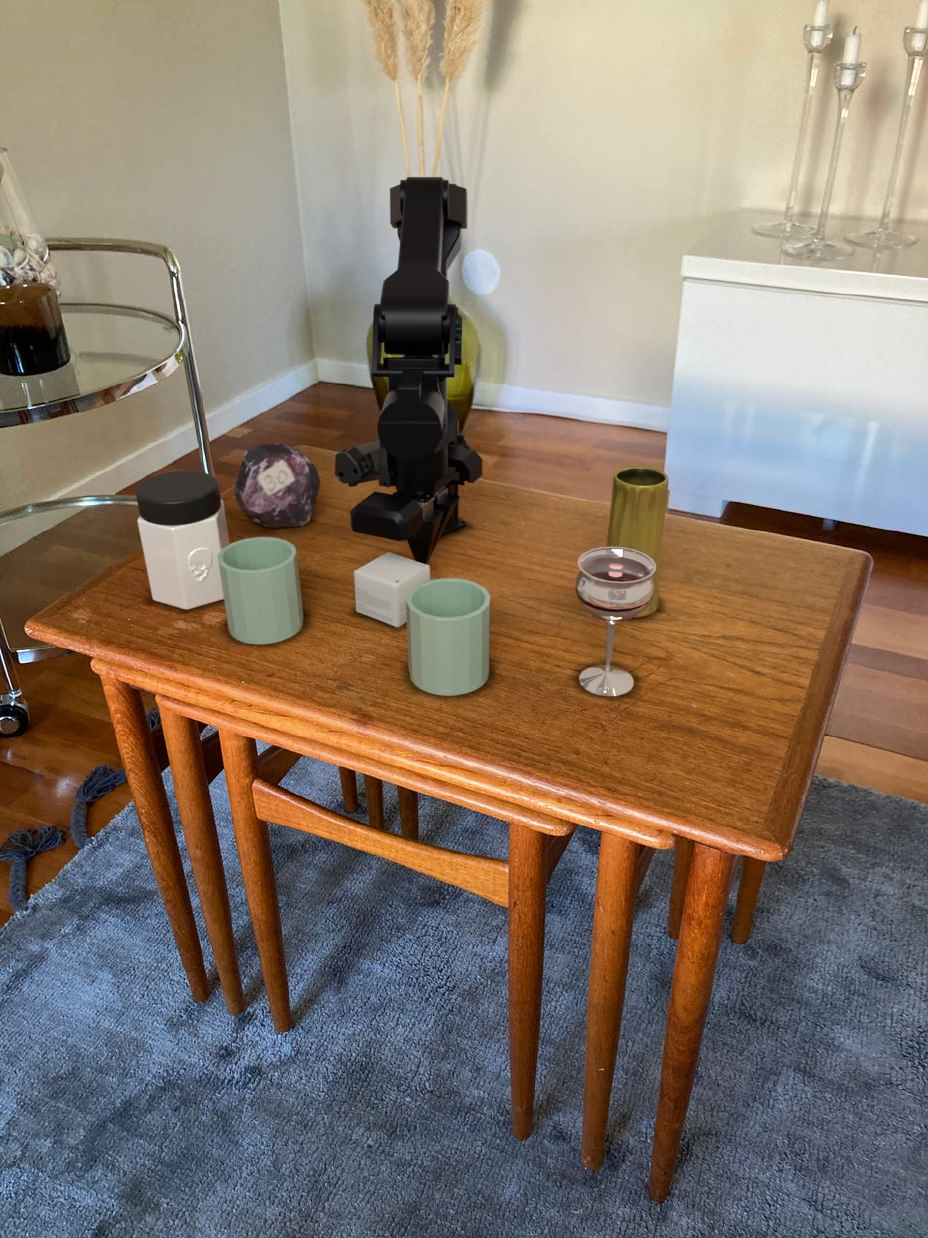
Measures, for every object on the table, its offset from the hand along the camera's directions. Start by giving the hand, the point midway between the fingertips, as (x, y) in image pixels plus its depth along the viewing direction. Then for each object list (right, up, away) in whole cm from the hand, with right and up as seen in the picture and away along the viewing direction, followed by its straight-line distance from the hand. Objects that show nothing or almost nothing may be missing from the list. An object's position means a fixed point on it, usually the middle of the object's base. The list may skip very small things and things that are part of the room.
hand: (422, 563), depth 103 cm
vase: (+21, -5, -3) cm, 22 cm away
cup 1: (-15, -7, -6) cm, 18 cm away
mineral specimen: (-18, +6, +15) cm, 24 cm away
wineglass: (+17, -12, -15) cm, 26 cm away
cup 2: (+3, -11, -14) cm, 18 cm away
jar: (-24, -3, 0) cm, 25 cm away
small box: (-3, -5, -4) cm, 7 cm away
